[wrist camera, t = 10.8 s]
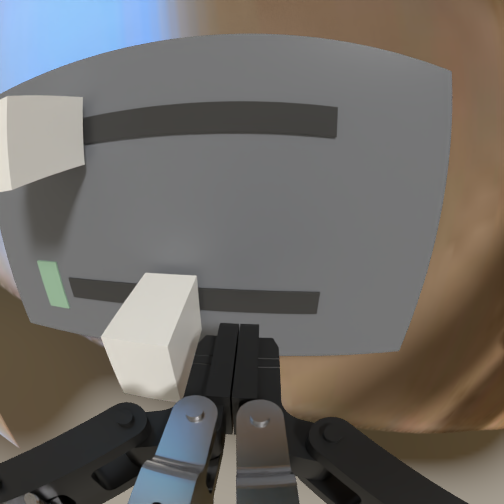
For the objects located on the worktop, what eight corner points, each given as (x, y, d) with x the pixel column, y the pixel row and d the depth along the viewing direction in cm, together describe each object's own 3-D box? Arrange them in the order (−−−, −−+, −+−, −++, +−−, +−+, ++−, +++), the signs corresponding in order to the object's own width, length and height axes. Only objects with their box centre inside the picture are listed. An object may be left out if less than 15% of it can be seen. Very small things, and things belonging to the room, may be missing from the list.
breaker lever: (82, 97, 9) (7, 96, 5) (84, 164, 10) (11, 190, 6) (44, 108, 9) (-28, 115, 5) (47, 170, 10) (-23, 196, 6)
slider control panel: (421, 77, 11) (452, 71, 8) (383, 320, 17) (399, 352, 14) (20, 98, 12) (-13, 100, 9) (51, 300, 18) (29, 323, 15)
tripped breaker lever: (196, 275, 12) (167, 346, 8) (201, 329, 13) (181, 403, 9) (145, 272, 12) (100, 336, 8) (155, 325, 14) (123, 393, 9)
